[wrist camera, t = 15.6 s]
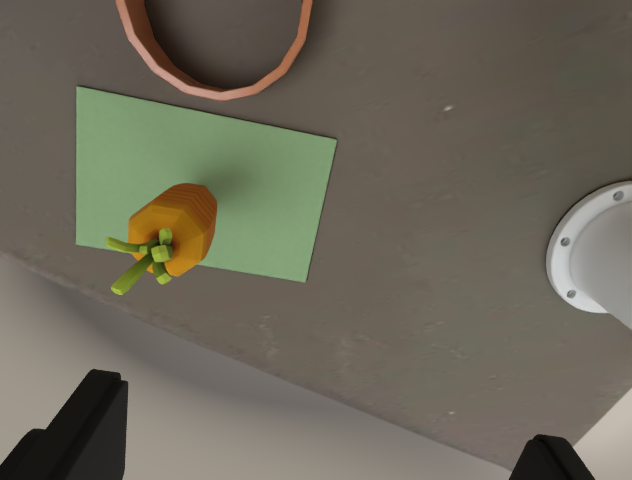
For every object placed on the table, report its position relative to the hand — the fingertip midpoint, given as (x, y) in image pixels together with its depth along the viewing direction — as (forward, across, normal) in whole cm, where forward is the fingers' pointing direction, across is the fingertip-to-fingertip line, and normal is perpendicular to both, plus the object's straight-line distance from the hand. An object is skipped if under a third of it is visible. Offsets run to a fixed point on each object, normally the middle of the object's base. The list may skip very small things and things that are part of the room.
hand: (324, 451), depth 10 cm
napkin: (+27, +9, +3) cm, 29 cm away
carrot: (+27, +9, +3) cm, 28 cm away
